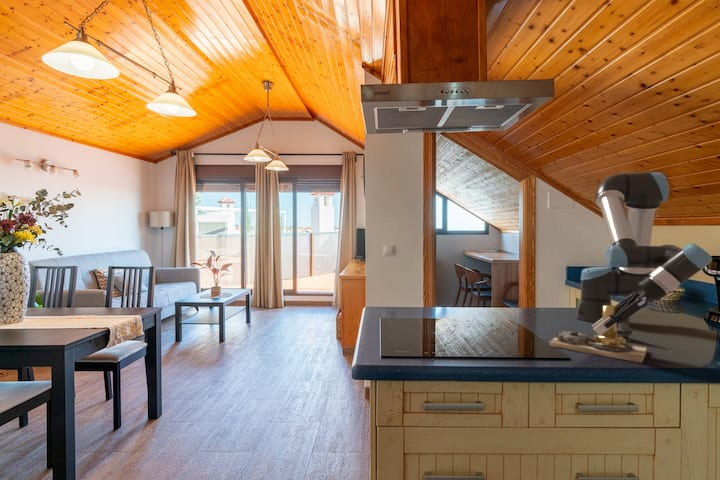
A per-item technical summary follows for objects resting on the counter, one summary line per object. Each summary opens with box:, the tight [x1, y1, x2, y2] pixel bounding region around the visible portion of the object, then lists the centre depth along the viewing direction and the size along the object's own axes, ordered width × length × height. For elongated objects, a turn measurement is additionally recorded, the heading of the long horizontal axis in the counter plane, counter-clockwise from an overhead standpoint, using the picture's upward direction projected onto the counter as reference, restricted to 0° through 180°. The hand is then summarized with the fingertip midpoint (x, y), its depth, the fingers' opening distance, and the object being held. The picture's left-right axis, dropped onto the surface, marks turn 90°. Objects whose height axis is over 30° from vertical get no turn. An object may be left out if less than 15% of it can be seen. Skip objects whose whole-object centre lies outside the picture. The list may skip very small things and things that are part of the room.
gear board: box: [548, 330, 648, 364], centre depth 131 cm, size 14×26×4 cm, turn 49°
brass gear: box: [593, 304, 626, 346], centre depth 129 cm, size 9×9×12 cm
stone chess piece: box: [617, 318, 634, 342], centre depth 143 cm, size 6×6×12 cm
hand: (595, 330), depth 131 cm, fingers closed on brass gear, 4 cm apart
